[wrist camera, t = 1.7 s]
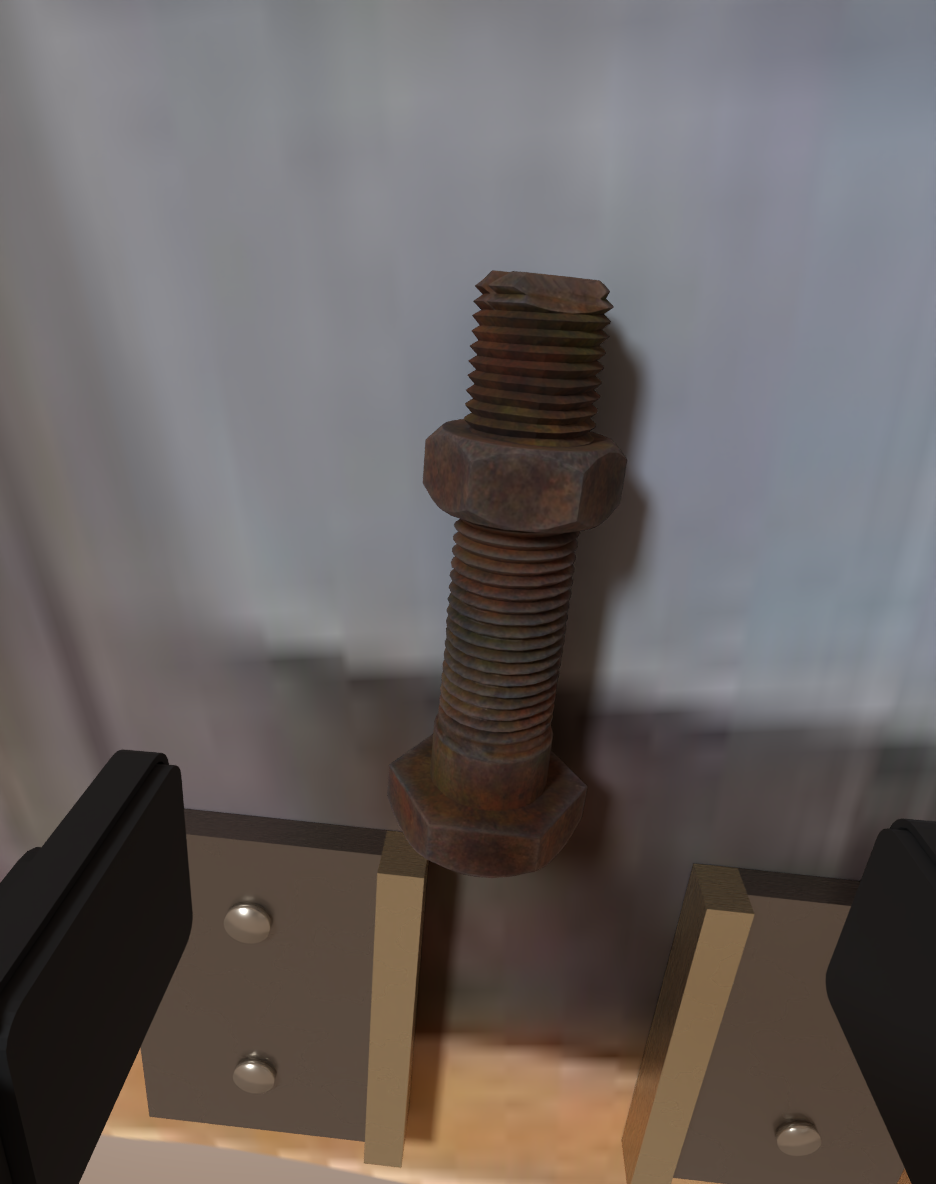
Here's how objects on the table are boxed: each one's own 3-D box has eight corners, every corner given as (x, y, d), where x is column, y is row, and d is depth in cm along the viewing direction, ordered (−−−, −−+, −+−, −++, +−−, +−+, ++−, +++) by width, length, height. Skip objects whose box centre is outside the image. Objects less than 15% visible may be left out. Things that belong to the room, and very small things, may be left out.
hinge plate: (1005, 896, 26) (1042, 945, 24) (874, 1169, 32) (896, 1225, 30) (129, 802, 26) (99, 843, 24) (162, 1087, 32) (140, 1137, 30)
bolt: (567, 282, 21) (508, 750, 26) (395, 263, 18) (369, 779, 24) (721, 290, 16) (609, 860, 21) (513, 266, 14) (447, 910, 19)
